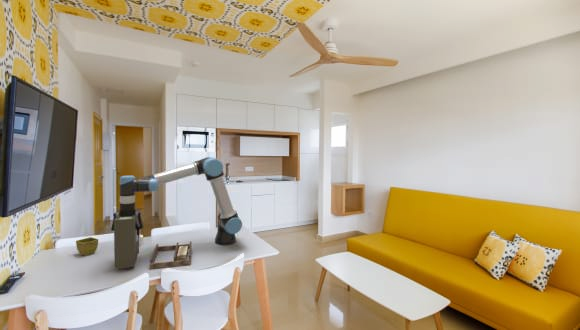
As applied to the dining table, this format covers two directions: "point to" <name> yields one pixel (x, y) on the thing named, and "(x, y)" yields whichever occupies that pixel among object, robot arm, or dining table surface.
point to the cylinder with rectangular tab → (140, 240)
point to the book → (125, 241)
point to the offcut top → (182, 252)
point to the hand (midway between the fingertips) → (127, 241)
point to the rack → (171, 263)
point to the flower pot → (87, 246)
